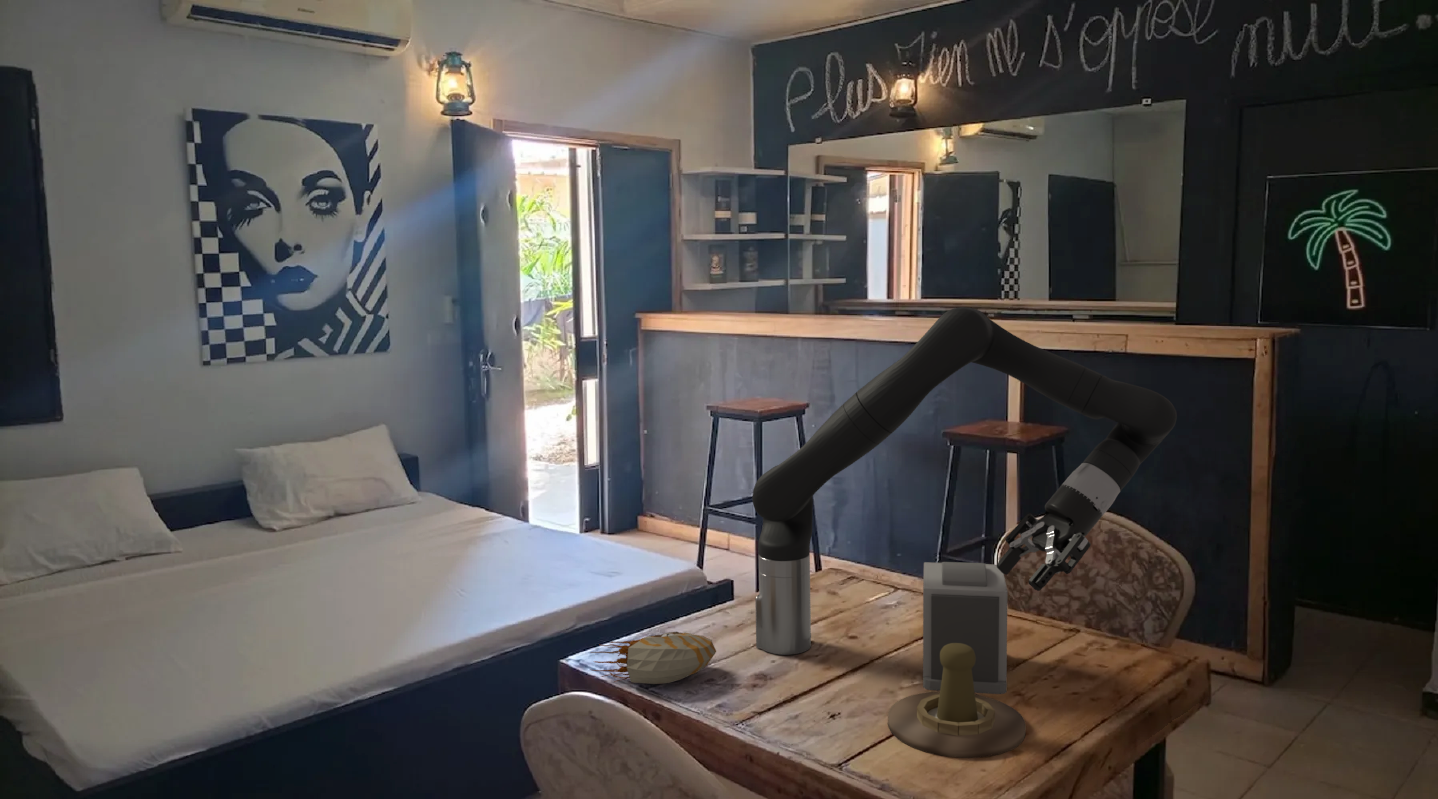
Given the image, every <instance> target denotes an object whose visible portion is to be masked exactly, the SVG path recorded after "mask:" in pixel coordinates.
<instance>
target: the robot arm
mask: <svg viewBox="0 0 1438 799" xmlns="http://www.w3.org/2000/svg"><path fill="white" fill-rule="evenodd" d="M970 363H972V364H976V365H980V366H983V367H986V368H990V369H992V370H996V371H999V372H1001V373H1003V374H1005V375H1008V376H1009V377H1012V378H1013V379H1015V380H1017V381H1018V382H1021V383H1022V384H1025V385H1026V386H1028V387H1029V388H1031V389H1033V390H1034V391H1035V392H1037V393H1040V394H1041V395H1043V396H1045V397H1046V398H1048V399H1050V400H1051V401H1053V402H1055V403H1058V404H1059V405H1062V406H1064V407H1066V408H1068V409H1069V410H1071V411H1074V412H1076V413H1078V414H1079V415H1083V416H1084V417H1087V418H1089V419H1093V420H1100V419H1108V420H1111V421H1113V422H1116V424H1115V425H1114V426H1113V428H1112V429H1111V431H1110V432H1109V433H1108V435H1107V436H1106V438H1104V439H1103V440H1102V441H1101V442H1100V443H1098V444H1097V445H1096V446H1095V447H1094V448H1093V450H1092V451H1091V452H1090V453H1089V454H1088V456H1086V457H1085V459H1084V460H1083V462H1082V463H1080V465H1079V466H1078V467H1076V469H1074V470H1073V471H1072V472H1071V473H1070V475H1069V476H1068V477H1067V478H1066V479H1065V480H1064V482H1063V483H1062V484H1061V485H1060V486H1059V488H1057V490H1056V491H1055V492H1054V493H1053V495H1052V496H1051V497H1050V499H1048V501H1047V502H1046V503H1045V504H1044V510H1045V514H1044V515H1043V516H1042V517H1041V518H1039V519H1037V518H1036V517H1035V516H1034V515H1033V514H1032V513H1030V512H1029V513H1027V514H1026V515H1025V516H1024V517H1023V519H1022V520H1020V522H1019V523H1018V524H1017V525H1016V526H1015V528H1013V529H1012V530H1011V532H1010V533H1009V534H1008V535H1007V536H1006V537H1005V542H1006V543H1007V545H1008V546H1009V548H1008V549H1007V551H1006V552H1005V553H1004V554H1003V556H1002V557H1001V558H1000V559H999V561H998V562H997V563H996V565H997V568H998V569H999V570H1000V571H1001V572H1002V573H1003V574H1004V576H1005V575H1008V574H1009V573H1010V572H1011V571H1012V570H1013V568H1014V567H1015V566H1016V565H1017V564H1018V562H1019V561H1020V560H1021V559H1022V557H1023V556H1025V555H1027V554H1029V553H1037V552H1039V551H1041V552H1045V553H1046V556H1045V561H1044V562H1045V563H1041V564H1040V566H1039V567H1038V569H1037V570H1036V571H1035V572H1034V573H1033V574H1032V576H1030V578H1029V579H1028V585H1030V586H1031V587H1032V588H1033V590H1035V591H1037V592H1039V591H1040V592H1041V590H1042V589H1043V588H1044V587H1046V585H1047V584H1048V583H1049V582H1050V580H1051V579H1052V578H1053V577H1054V576H1055V575H1058V574H1060V573H1062V572H1063V573H1065V574H1066V575H1068V574H1070V573H1071V572H1072V571H1073V570H1074V568H1075V567H1076V566H1077V564H1078V563H1079V562H1080V561H1081V559H1082V558H1083V556H1084V555H1085V554H1086V553H1087V551H1088V550H1089V548H1091V545H1092V544H1091V542H1090V541H1089V540H1088V539H1087V537H1086V536H1087V535H1088V534H1090V532H1091V531H1092V529H1093V528H1094V527H1095V526H1096V524H1098V522H1099V520H1101V518H1102V517H1104V515H1105V513H1107V511H1108V510H1109V508H1111V506H1112V505H1113V504H1114V503H1115V500H1116V499H1117V497H1118V495H1119V494H1120V493H1121V491H1122V490H1123V489H1124V488H1125V487H1126V485H1127V484H1128V483H1129V482H1130V481H1131V480H1132V478H1133V477H1134V475H1135V474H1136V473H1137V471H1138V469H1139V467H1140V465H1141V464H1142V463H1143V462H1144V461H1145V460H1146V459H1147V458H1148V457H1149V456H1150V454H1151V453H1152V452H1153V451H1154V450H1155V449H1156V448H1157V447H1158V446H1159V445H1160V444H1161V443H1162V442H1163V440H1164V439H1165V438H1166V436H1168V435H1169V433H1170V432H1171V431H1172V430H1173V429H1174V427H1175V425H1176V422H1177V418H1178V416H1177V410H1176V408H1175V406H1174V405H1173V403H1172V402H1171V401H1170V400H1169V399H1168V398H1166V397H1165V396H1163V395H1162V394H1160V393H1158V392H1156V391H1154V390H1152V389H1148V388H1146V387H1141V386H1138V385H1135V384H1132V383H1127V382H1124V381H1118V380H1115V379H1111V378H1109V377H1108V376H1105V375H1103V374H1101V373H1099V372H1097V371H1095V370H1092V369H1090V368H1089V367H1086V366H1083V365H1082V364H1079V363H1078V362H1075V361H1072V360H1070V359H1067V358H1065V357H1063V356H1060V355H1058V354H1055V353H1053V352H1050V351H1048V350H1045V349H1042V348H1040V347H1039V346H1036V345H1034V344H1032V343H1029V342H1028V341H1025V340H1024V339H1022V338H1021V337H1018V336H1017V335H1015V334H1013V333H1011V332H1010V331H1009V330H1007V329H1005V328H1003V326H1001V325H1000V324H998V323H996V322H995V321H994V320H992V319H990V318H989V317H988V316H987V315H986V314H985V313H984V312H982V311H981V310H979V309H977V308H974V307H966V306H964V307H963V306H959V307H955V308H952V309H949V310H947V311H946V312H944V313H942V314H941V316H940V317H938V318H937V320H936V321H935V323H933V325H931V326H930V328H928V330H927V331H926V333H924V335H923V336H922V337H921V338H919V340H918V341H917V342H916V343H915V344H914V345H913V346H912V347H911V348H910V349H909V351H907V352H906V353H905V354H904V355H903V356H902V357H900V359H898V360H897V361H896V362H894V363H892V365H889V366H888V367H886V369H884V370H883V371H881V372H880V373H879V374H877V375H876V376H874V377H873V378H872V379H870V380H869V382H867V383H866V384H864V386H862V387H861V388H859V390H857V391H856V392H855V393H853V395H852V396H851V397H849V398H848V399H847V400H846V401H845V402H843V404H841V405H840V406H839V407H838V408H837V409H836V410H835V411H834V412H833V413H832V414H831V415H830V416H829V417H828V418H827V419H826V420H825V421H824V423H822V425H821V426H820V427H819V428H818V429H817V430H816V431H815V432H814V434H812V436H811V437H809V439H808V440H807V441H806V443H804V445H802V446H801V447H800V448H798V450H797V451H795V452H794V453H792V455H790V456H789V457H788V458H786V459H785V460H783V461H782V462H781V463H779V464H776V465H775V466H774V467H772V468H770V469H769V470H767V471H766V472H764V473H763V474H762V475H760V477H759V478H758V479H757V481H756V482H755V483H754V487H753V490H752V497H751V498H752V499H751V501H752V505H753V508H754V510H755V511H756V513H757V515H758V516H760V517H761V518H762V528H761V531H760V532H761V533H760V535H759V537H758V538H759V539H758V543H757V546H758V548H757V550H758V583H759V585H758V589H759V590H758V591H759V593H758V595H756V596H755V601H754V602H755V604H754V605H755V644H756V646H755V647H756V649H761V650H763V651H765V652H767V653H770V654H773V655H774V654H775V655H787V656H789V655H798V654H802V653H804V652H806V651H808V650H810V648H811V647H812V643H811V642H812V639H811V638H812V628H811V626H812V624H811V618H812V617H811V611H812V610H811V555H810V551H811V550H810V548H811V540H812V536H813V510H814V509H813V503H814V502H813V501H814V500H813V496H814V495H815V494H816V493H817V492H818V491H819V490H820V489H821V488H822V487H823V486H824V485H825V484H826V483H827V482H829V481H830V480H831V479H832V478H834V476H836V475H838V474H839V473H840V472H842V471H843V470H846V469H847V468H849V467H850V466H851V465H853V464H854V463H856V462H857V461H859V460H860V459H861V458H863V457H864V456H865V455H867V454H868V453H870V452H871V451H872V450H873V449H875V448H876V447H878V445H880V444H881V443H882V442H884V441H885V440H886V439H888V437H889V436H890V435H892V434H893V433H894V432H895V431H896V430H898V428H899V427H900V426H901V425H902V424H903V423H904V422H905V421H907V419H909V417H910V416H911V415H912V414H913V413H914V411H915V410H916V409H917V408H918V406H920V404H921V403H922V402H923V401H924V399H926V397H927V396H928V394H929V393H930V392H932V391H933V390H934V389H935V388H936V387H937V386H939V384H941V383H942V382H944V381H945V380H946V379H948V378H950V377H951V376H952V375H954V374H955V373H957V372H958V371H959V370H962V368H964V367H965V366H967V365H969V364H970ZM1019 535H1020V537H1018V536H1019ZM1017 537H1018V538H1017ZM1016 538H1017V539H1016ZM1024 545H1025V546H1024ZM1068 558H1070V559H1069V561H1068V562H1067V559H1068Z"/></svg>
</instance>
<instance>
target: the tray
mask: <svg viewBox="0 0 1438 799" xmlns="http://www.w3.org/2000/svg"><path fill="white" fill-rule="evenodd" d="M939 695H940V691H937V690H935V691H927V692H921V693H916V694H912V695H908V696H905V697H903V698H900V699H899V700H897V701H896V702H895V703H893V704H892V705H891V706H890V708H889V709H888V712H887V727H888V729H889V731H890V733H891V734H892V735H893V737H895V738H896V739H897V740H898V741H900V742H901V743H903V744H905V745H907V746H909V747H911V748H913V749H915V750H918V751H922V752H925V753H928V754H930V755H931V754H932V755H937V756H941V757H948V758H949V757H950V758H959V759H962V758H965V759H974V758H975V759H976V758H985V757H986V758H987V757H992V756H998V755H1002V754H1004V753H1005V754H1006V753H1007V752H1010V751H1012V750H1014V749H1016V748H1017V747H1019V745H1021V744H1022V743H1023V741H1024V739H1025V737H1026V730H1027V728H1026V727H1027V726H1026V721H1025V719H1024V717H1023V715H1022V714H1021V713H1020V712H1019V711H1018V710H1017V709H1016V708H1014V707H1012V706H1011V705H1008V704H1007V703H1005V702H1003V701H1000V700H999V699H996V698H992V697H990V696H985V695H981V694H978V693H975V699H976V707H977V715H978V720H976V721H974V722H960V723H957V722H951V721H944V720H940V719H938V717H937V709H938V702H939Z"/></svg>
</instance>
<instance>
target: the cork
mask: <svg viewBox="0 0 1438 799" xmlns="http://www.w3.org/2000/svg"><path fill="white" fill-rule="evenodd" d="M940 661H941V664H942V665H943V674H942V681H941V688H940V695H939V702H938V709H937V717H938V719H940V720H944V721H951V722H957V723H960V722H974V721H976V720H978V715H977V707H976V699H975V694H976V693H975V692H974V684H973V676H972V668H973V666H974V665H975V661H976V657H975V652H974V650H973V649H972V648H971V647H970V646H968V645H966V644H961V643H950V644H947V645H945V646H943V648H942V649H941V651H940Z"/></svg>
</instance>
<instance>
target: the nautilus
mask: <svg viewBox="0 0 1438 799" xmlns="http://www.w3.org/2000/svg"><path fill="white" fill-rule="evenodd" d="M618 644H624V645H618ZM626 644H628V645H626ZM600 646H602V647H607V648H617V649H618V650H613V651H590V654H598V653H601V654H602V653H603V654H612V655H613V654H618V655H617V657H619V656H621V655H622V656H625V657H620V658H617V659H616V661H611V660H608V661H607V660H606V661H605V660H604V661H597V660H596V661H595V660H594V661H593V663H597V664H616V665H618V667H619V668H614V669H590V668H589V670H590V671H593V672H609V674H605V675H602V676H600V677H601V678H603V677H608V676H613V677H615V678H619V679H618V680H615V681H613V683H616V682H618V681H625V680H628V681H630V682H631V683H638V684H651V685H660V684H670V683H672V682H676V681H681V680H683V679H684V678H687V677H689V676H691V675H693V674H696V673H698V672H700V671H701V670H703V669H704V668H705V667H706V666H708V664H709V663H710V662H711V660H712V659H713V657H714V656H715V654H716V653H717V650H716V648H715V645H714V642H713V641H712V639H710V638H709V637H706V636H704V635H700V634H695V633H694V634H693V633H691V632H690V633H689V632H687V631H685V632H681V631H671V632H670V631H669V632H665V633H661V634H655V635H649V636H648V635H647V636H644V637H642V638H640V639H636V640H635V639H632V640H624V641H619V640H618V641H612V640H610V642H609V644H607V645H606V644H600ZM620 664H626V665H625V666H622V665H620ZM611 672H612V673H611ZM614 673H615V674H614ZM620 675H621V676H620ZM622 675H623V676H624V677H623V676H622ZM625 676H626V677H625Z"/></svg>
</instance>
